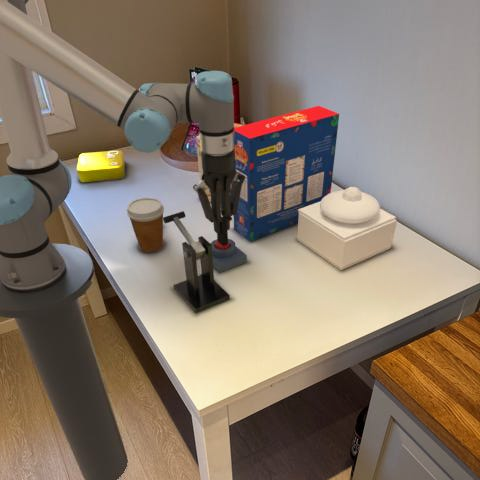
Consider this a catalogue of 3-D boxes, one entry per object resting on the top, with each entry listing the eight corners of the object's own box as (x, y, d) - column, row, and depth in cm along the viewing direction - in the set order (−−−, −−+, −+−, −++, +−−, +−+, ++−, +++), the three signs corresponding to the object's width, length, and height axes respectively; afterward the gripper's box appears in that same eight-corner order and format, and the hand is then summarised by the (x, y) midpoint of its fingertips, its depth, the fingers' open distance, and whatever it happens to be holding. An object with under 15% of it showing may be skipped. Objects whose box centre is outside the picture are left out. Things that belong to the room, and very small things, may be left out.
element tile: (81, 165, 171) (78, 151, 168) (124, 161, 173) (122, 147, 170) (79, 183, 160) (75, 169, 157) (125, 179, 162) (122, 165, 159)
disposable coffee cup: (176, 243, 131) (171, 202, 123) (152, 259, 125) (145, 218, 117) (150, 233, 135) (143, 193, 127) (126, 249, 129) (117, 208, 122)
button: (213, 248, 124) (212, 242, 123) (225, 243, 125) (224, 237, 124) (220, 254, 121) (220, 248, 120) (232, 250, 123) (232, 244, 122)
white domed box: (341, 270, 120) (349, 212, 109) (295, 239, 131) (299, 184, 121) (391, 248, 127) (403, 191, 117) (344, 220, 138) (351, 166, 128)
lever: (162, 222, 111) (163, 214, 109) (182, 215, 113) (182, 208, 111) (190, 262, 106) (190, 255, 104) (210, 255, 108) (211, 248, 106)
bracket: (173, 288, 116) (166, 238, 107) (206, 276, 119) (202, 227, 110) (195, 313, 109) (190, 262, 100) (230, 299, 112) (227, 248, 103)
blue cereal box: (310, 201, 147) (318, 105, 129) (328, 211, 142) (339, 113, 124) (234, 229, 136) (230, 128, 117) (250, 241, 131) (249, 138, 112)
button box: (200, 254, 127) (199, 241, 124) (226, 244, 130) (225, 231, 127) (219, 272, 120) (219, 259, 118) (246, 262, 123) (246, 249, 121)
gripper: (200, 163, 102) (207, 257, 117) (251, 148, 107) (252, 241, 122) (183, 151, 106) (192, 243, 122) (233, 138, 111) (236, 228, 127)
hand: (222, 242), depth 122 cm, fingers closed
